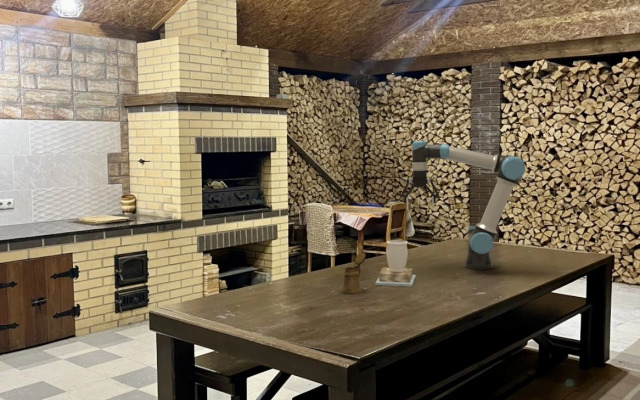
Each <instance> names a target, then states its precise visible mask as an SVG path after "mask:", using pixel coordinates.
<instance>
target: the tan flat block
mask: <svg viewBox="0 0 640 400" xmlns="http://www.w3.org/2000/svg"><path fill="white" fill-rule="evenodd" d="M404 268H405V271H404V272H390V271H389V267H382V269H381V270H380V271H379V276H378V278H379V281H382V282H406V283H410V280H411V278H412V275H413V268H407V267H404Z"/></svg>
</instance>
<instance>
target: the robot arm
mask: <svg viewBox="0 0 640 400" xmlns="http://www.w3.org/2000/svg"><path fill="white" fill-rule="evenodd" d="M411 146H412V149H411V151H412V152H411V154H412V155H411V156H412V157H411V158H412V160H411V161H412V164H411V166H412V179H406V184H405V185H404V188H403V189H402V192H401V194H400V196H401V197H402V198H403V199H404V200H403V201H404V202H403V203H404V204H405V205H406V211H408V210H409V195H410V194H411V192H412V191H413V190H414V188H418V189H419V188H425V189H426V190H427V191H428V193H429V194H431V196H432V197H431V205H432V206H431V210H434V205H435V204H436V203H437V202H436V201H437V200H436V199H437V197H439V196H440V193H439V192H438V189H437V187H436V186H435V184H434V180H433V178H430V179H428V176H427V175H428V172H427V169H428V168H427V167H428V165H427V159H428V160H430V159H431V160H432V159H442V160H447V161H450V162H451V161H452V162H456V163H461V164H465V165H470V166H474V167H478V168H482V169H488V170H491V172H493V173H497V175H495V176H496V184H495V187H494V189H493V191H492V193H491V196H490V198H489V201H488V204H487V206H486V208H485V211H484V212H483V215H482V218H481V220H480V222H478V223H476V225H470V226H468V230H467V234H468V237H467V240H468V241H467V254H466V257H465V261H464V267H465V268H467V269H470V270H491V269H492V268H493V261H492V257H491V255H490V253H491V252H490V251H491V250H492V249H493V248H494V242H495V239H496V236H497V234H498V232H497V226H498V224H499V222H500V219H501V217H502V214H503V213H504V210H505V208H506V206H507V203H508V200H509V199H510V196H511V194H512V191H513V188H515V187H516V186H518V184H519V183H520V180H521V178H522V177H523V175H524V174H525V172H526V165H525V163H524V161H523V159H521V158H520V157H519V156H515V155H502V154H495V155H492V154H487V153H482V152H478V151H474V150H473V151H472V150H468V149H465V148H459V147H455V146H450V145H449V144H444V143H443V144H442V143H435V144H427V141H426V140H418V141H417V140H416V141H413V142H412V145H411ZM411 183H412V184H413V185H412V186H411V187H410V188H409V190H408V189H407V188H408V187H409V185H410V184H411ZM427 183H429V184H430V185H431V187H432V188H433V190H432V189H431V188H430V187H429V186H428V185H427ZM407 190H408V191H407ZM406 191H407V192H406ZM433 191H434V192H433ZM490 268H491V269H490Z"/></svg>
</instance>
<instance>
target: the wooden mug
mask: <svg viewBox="0 0 640 400" xmlns="http://www.w3.org/2000/svg"><path fill="white" fill-rule="evenodd" d="M366 258H367V255H366V253H365V251H361V252H359V253H358V254H357V255H356V256H355V258H354V263H355V264H354V265H353V267H352V266H348V267H345V268H344V271H343V283H342V289H341V292H342V293H344V294H359V293H361V292H362V289H361V285H360V277H361V271H362V270H361V266H362V264H363V263H364V262H365V261H366Z"/></svg>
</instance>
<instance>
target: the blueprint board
mask: <svg viewBox="0 0 640 400" xmlns="http://www.w3.org/2000/svg"><path fill="white" fill-rule="evenodd" d="M416 277H417V275H416V274H412V278H411V280H410V283H406V282H382V281H379V277H378V278H377V280H376V281H375V284H374V285H375V286H384V287H385V286H386V287H387V286H389V287H408V288H412V287H413V285H414V284H415V283H414V282H415V280H416Z"/></svg>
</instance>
